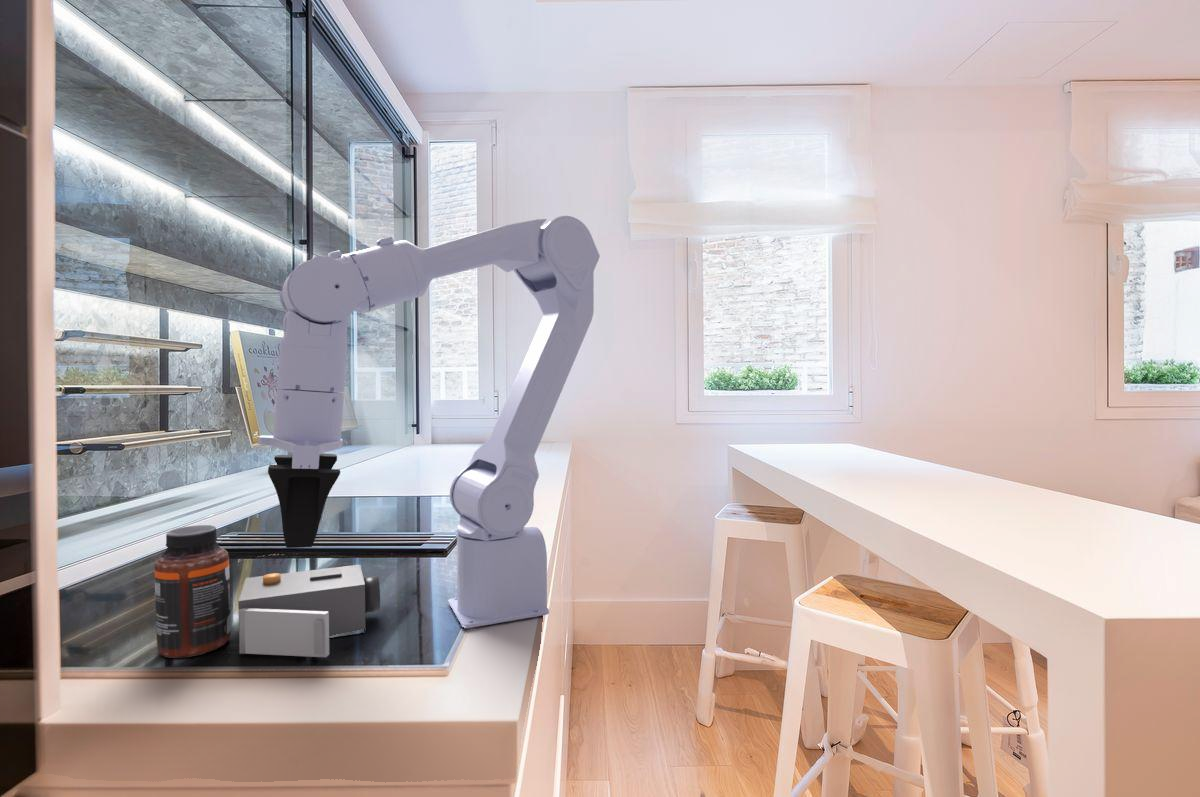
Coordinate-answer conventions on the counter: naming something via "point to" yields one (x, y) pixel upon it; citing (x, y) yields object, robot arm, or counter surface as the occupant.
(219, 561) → the supplement bottle
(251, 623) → the side door
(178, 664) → the counter surface
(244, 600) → the block
